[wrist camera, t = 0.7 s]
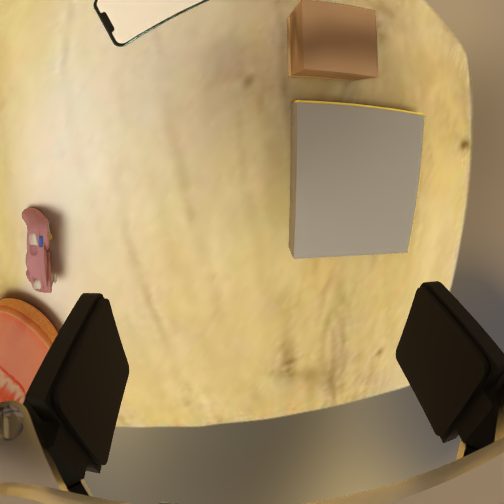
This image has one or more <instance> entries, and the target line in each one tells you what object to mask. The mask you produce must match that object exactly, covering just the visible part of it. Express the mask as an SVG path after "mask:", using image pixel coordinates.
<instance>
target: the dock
mask: <svg viewBox="0 0 504 504" xmlns="http://www.w3.org/2000/svg"><path fill="white" fill-rule="evenodd" d="M424 126H425V116H424V114H423V113H417V112H411V111H405V110H399V109H392V108H385V107H377V106H369V105H360V104H350V103H338V102H325V101H306V100H295V102H292V103H291V185H290V226H289V248H290V251H291V253H292V256H293V258H294V259H298V258H318V257H337V256H356V255H374V254H392V253H408V250H409V245H410V240H411V235H412V229H413V223H414V217H415V211H416V205H417V198H418V190H419V182H420V174H421V164H422V154H423V142H424Z"/></svg>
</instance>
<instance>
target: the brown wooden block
mask: <svg viewBox="0 0 504 504" xmlns="http://www.w3.org/2000/svg"><path fill="white" fill-rule="evenodd" d="M287 35H288V77H304V78H319V79H331V80H342V81H354V80H361V79H368V78H376V77H378V59H377V32H376V16H375V10H370V9H365V8H360V7H355V6H349V5H344V4H337V3H330V2H323V1H315V0H301V1H300V2H299V4H298V5H297V6H296V8H295V9H294V11H293V12H292V13H291V15H290V16H289V17H288V19H287Z"/></svg>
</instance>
